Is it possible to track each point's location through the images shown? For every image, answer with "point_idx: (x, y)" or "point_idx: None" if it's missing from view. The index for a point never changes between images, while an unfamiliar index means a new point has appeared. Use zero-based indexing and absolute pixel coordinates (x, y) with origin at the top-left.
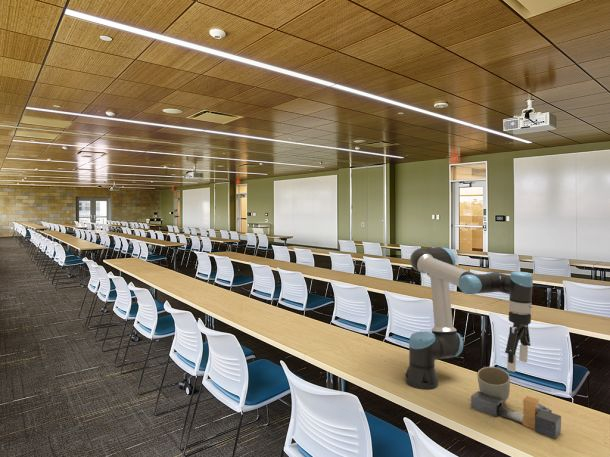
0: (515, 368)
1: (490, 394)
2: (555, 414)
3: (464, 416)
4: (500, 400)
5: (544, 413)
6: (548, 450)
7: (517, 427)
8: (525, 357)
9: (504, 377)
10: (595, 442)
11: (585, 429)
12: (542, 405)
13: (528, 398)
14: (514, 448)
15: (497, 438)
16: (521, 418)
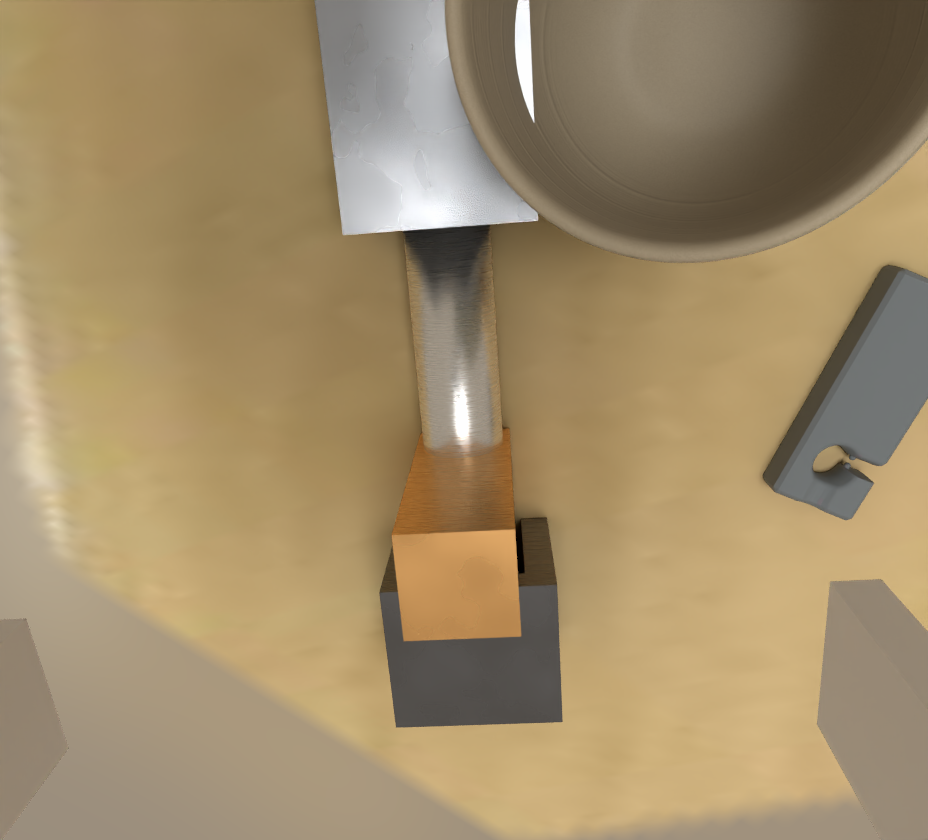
0: (28, 802)
1: (508, 73)
2: (554, 686)
3: (121, 6)
4: (477, 219)
5: None
6: (227, 654)
7: (352, 416)
8: (872, 801)
9: (913, 91)
10: (585, 797)
11: (734, 726)
12: (894, 441)
13: (459, 561)
14: (47, 514)
15: (56, 386)
16: (424, 434)
